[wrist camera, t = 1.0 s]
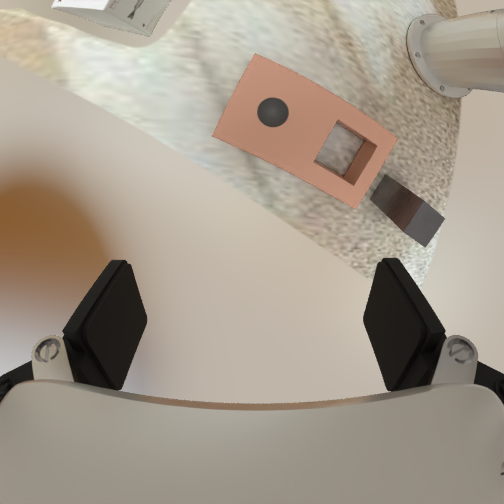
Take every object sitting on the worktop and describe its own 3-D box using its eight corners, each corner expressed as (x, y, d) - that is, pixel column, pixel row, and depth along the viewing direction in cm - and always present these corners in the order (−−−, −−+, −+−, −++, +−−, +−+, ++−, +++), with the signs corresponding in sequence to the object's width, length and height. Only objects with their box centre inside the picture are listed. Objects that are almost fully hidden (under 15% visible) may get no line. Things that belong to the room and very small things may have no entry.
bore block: (216, 132, 31) (211, 136, 27) (254, 59, 26) (254, 53, 23) (345, 197, 35) (355, 209, 31) (383, 133, 30) (398, 138, 27)
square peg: (369, 199, 35) (403, 232, 26) (385, 174, 33) (424, 200, 24) (390, 212, 35) (425, 247, 27) (405, 189, 34) (445, 218, 25)
